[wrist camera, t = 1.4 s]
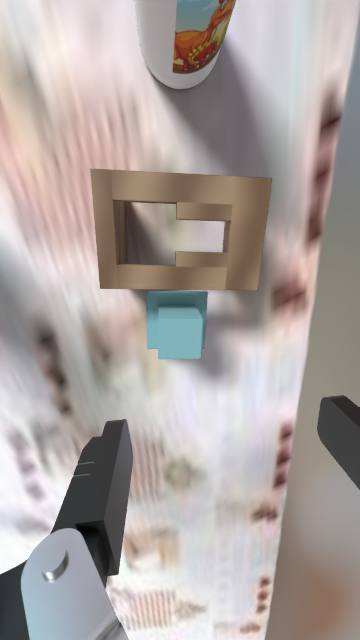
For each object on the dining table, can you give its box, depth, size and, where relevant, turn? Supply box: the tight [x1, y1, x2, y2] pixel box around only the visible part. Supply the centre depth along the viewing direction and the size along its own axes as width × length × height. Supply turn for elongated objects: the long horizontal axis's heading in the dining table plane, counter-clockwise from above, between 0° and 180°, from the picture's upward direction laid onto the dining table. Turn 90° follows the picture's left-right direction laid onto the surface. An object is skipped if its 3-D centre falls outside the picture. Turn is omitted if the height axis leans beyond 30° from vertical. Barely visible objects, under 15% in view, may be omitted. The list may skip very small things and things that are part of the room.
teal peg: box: [146, 291, 208, 359], centre depth 26 cm, size 7×7×10 cm
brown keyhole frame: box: [90, 169, 272, 290], centre depth 24 cm, size 14×9×9 cm, turn 89°
